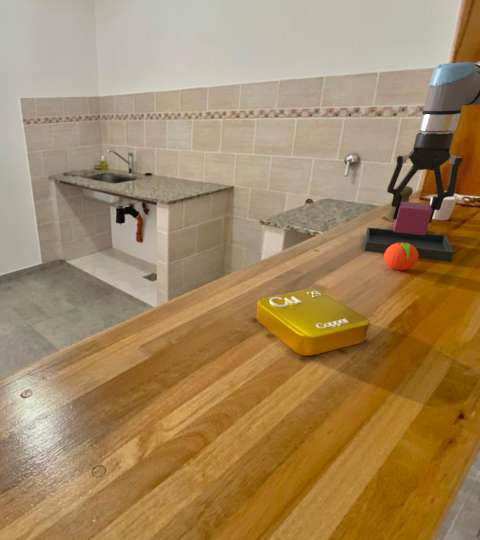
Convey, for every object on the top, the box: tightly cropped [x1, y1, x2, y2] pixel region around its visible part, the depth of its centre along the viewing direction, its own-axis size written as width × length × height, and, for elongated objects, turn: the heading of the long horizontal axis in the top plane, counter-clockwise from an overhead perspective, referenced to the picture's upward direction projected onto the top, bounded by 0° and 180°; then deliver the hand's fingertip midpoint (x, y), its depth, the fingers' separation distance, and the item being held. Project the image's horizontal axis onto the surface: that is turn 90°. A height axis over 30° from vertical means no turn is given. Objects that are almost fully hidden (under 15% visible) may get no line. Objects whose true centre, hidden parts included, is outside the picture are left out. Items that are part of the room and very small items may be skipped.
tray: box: [363, 227, 454, 262], centre depth 108 cm, size 19×14×3 cm
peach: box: [383, 242, 419, 271], centre depth 95 cm, size 8×7×7 cm
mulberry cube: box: [392, 201, 433, 235], centre depth 105 cm, size 7×7×7 cm
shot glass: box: [429, 195, 458, 221], centre depth 129 cm, size 7×7×7 cm
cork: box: [385, 185, 414, 221], centre depth 130 cm, size 6×6×11 cm
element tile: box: [255, 288, 370, 357], centre depth 74 cm, size 15×15×5 cm
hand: (411, 219), depth 106 cm, fingers closed on mulberry cube, 7 cm apart
